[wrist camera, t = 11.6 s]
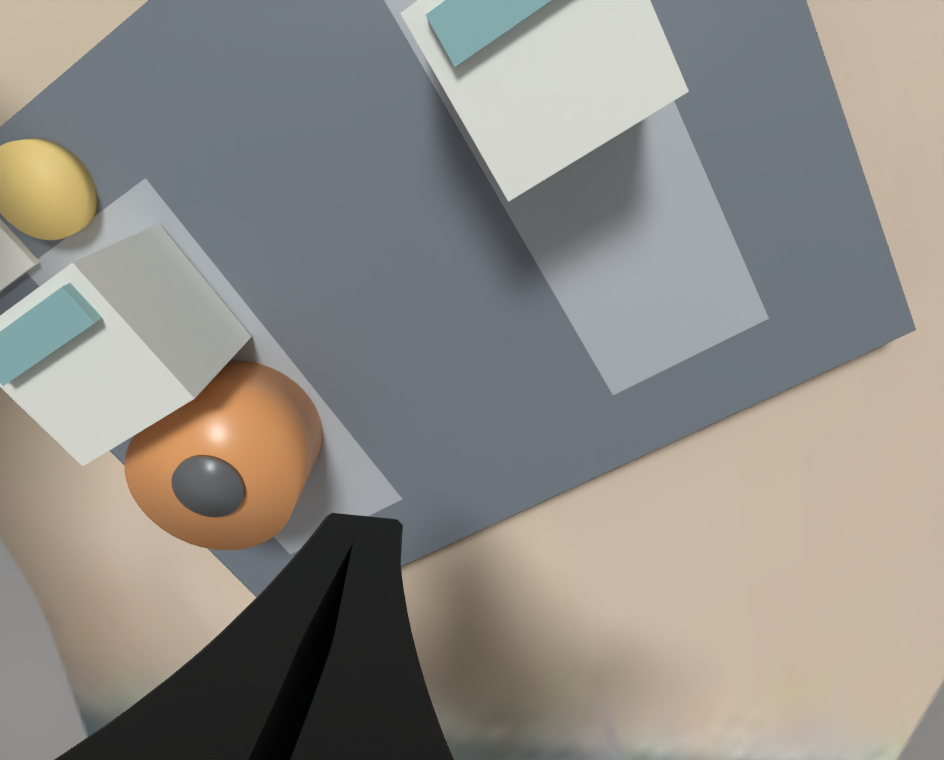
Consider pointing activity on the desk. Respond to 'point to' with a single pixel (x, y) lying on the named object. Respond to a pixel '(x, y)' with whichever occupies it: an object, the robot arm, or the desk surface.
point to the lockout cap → (228, 459)
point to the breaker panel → (464, 245)
